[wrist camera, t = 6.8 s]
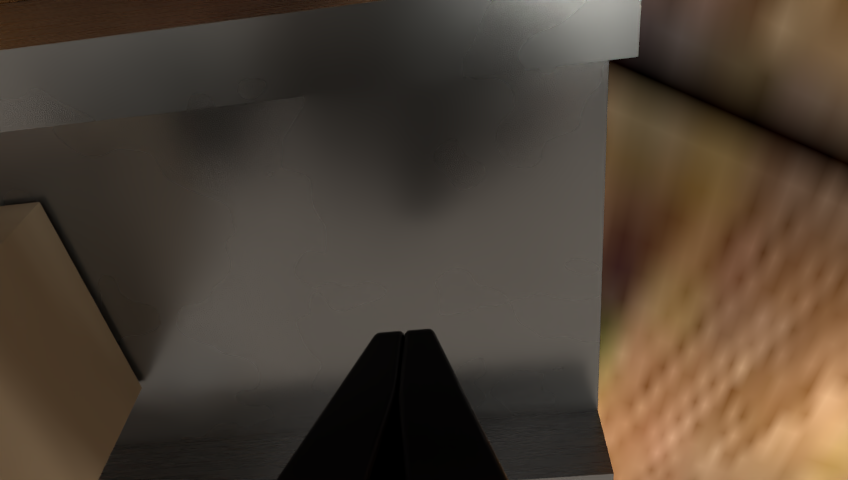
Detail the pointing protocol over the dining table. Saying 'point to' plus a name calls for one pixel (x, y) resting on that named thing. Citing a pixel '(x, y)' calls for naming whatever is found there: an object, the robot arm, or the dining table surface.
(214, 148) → the grey open tray
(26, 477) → the block
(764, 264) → the dining table surface
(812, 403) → the dining table surface
